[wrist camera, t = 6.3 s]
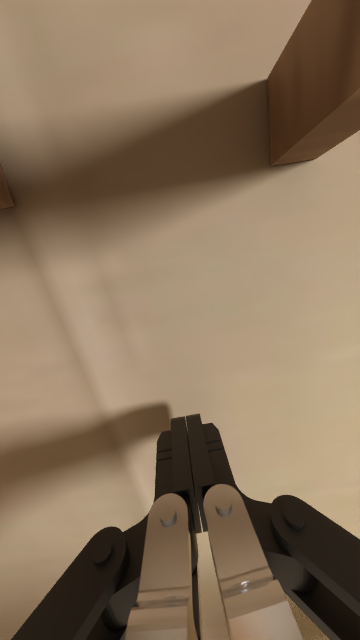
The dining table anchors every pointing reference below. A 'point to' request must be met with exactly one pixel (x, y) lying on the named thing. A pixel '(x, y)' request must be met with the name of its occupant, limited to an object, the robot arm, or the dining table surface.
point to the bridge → (308, 86)
